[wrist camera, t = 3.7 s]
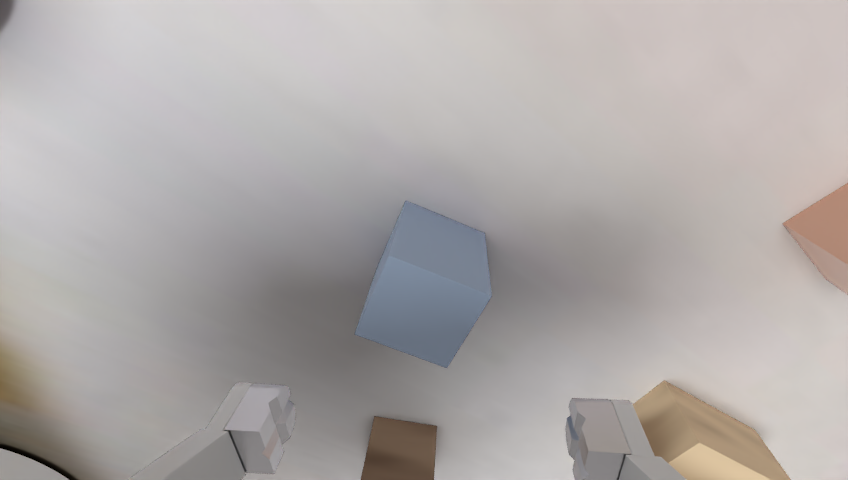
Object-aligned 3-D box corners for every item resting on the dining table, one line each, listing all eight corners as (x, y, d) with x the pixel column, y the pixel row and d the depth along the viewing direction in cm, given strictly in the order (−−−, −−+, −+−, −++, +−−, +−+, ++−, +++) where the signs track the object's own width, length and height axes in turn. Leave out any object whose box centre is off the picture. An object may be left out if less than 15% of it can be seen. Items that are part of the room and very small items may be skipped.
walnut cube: (428, 463, 28) (422, 546, 23) (370, 454, 28) (353, 535, 23) (436, 425, 26) (432, 508, 21) (374, 415, 26) (357, 496, 22)
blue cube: (449, 295, 21) (446, 368, 17) (377, 267, 21) (354, 334, 16) (484, 232, 19) (491, 295, 15) (405, 200, 19) (388, 255, 14)
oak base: (661, 483, 27) (692, 552, 24) (578, 442, 26) (597, 509, 22) (752, 426, 24) (802, 495, 21) (662, 377, 23) (699, 442, 19)
